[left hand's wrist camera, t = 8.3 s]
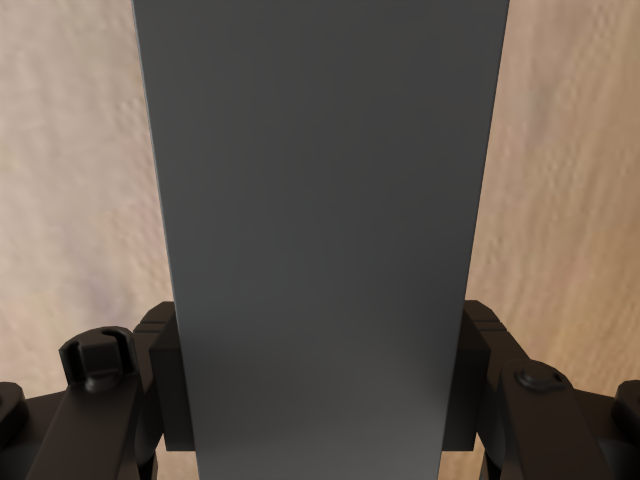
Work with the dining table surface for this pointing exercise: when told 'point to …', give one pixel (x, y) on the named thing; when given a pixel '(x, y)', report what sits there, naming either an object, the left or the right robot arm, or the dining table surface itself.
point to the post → (319, 221)
